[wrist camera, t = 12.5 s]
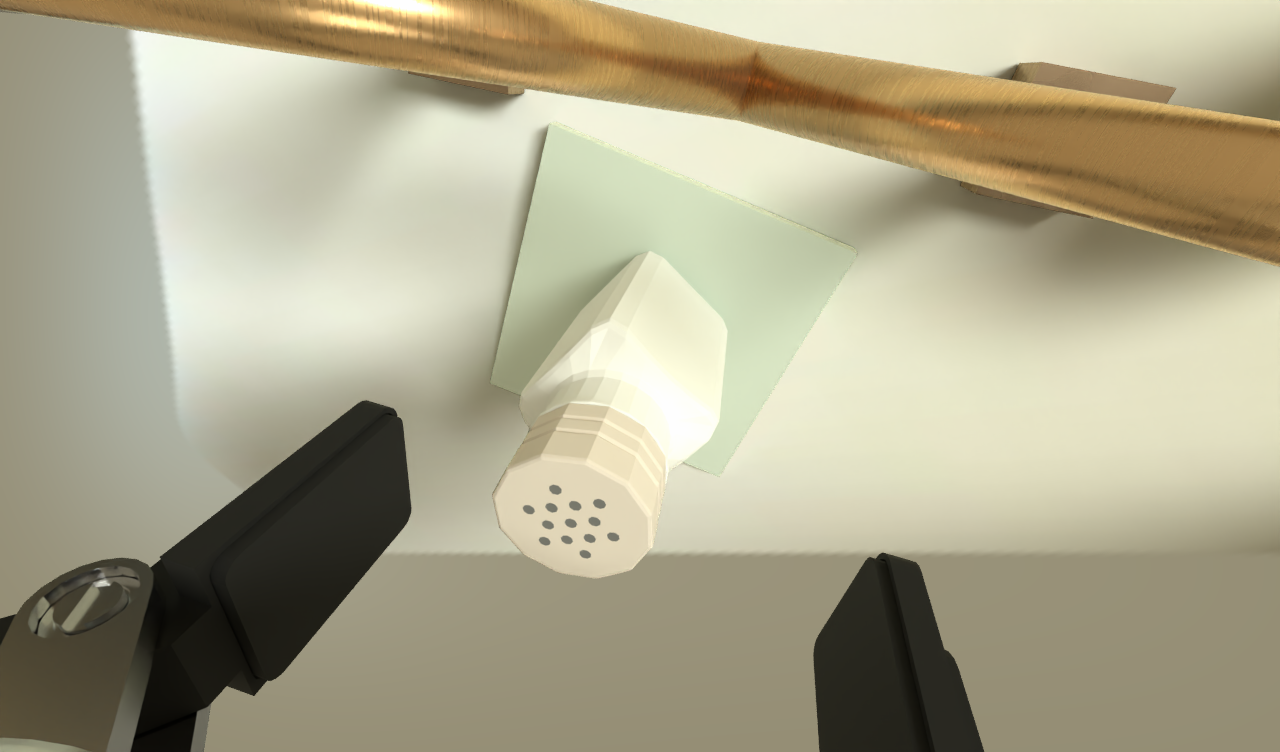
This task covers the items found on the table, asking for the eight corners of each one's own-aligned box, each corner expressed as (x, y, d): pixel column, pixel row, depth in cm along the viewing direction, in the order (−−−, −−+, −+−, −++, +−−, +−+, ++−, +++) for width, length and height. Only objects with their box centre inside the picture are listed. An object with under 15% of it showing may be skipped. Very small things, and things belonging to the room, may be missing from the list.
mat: (854, 248, 16) (857, 253, 15) (719, 467, 21) (719, 477, 21) (556, 121, 16) (549, 123, 15) (496, 375, 21) (489, 383, 20)
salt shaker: (653, 388, 19) (582, 616, 11) (574, 314, 18) (433, 505, 10) (735, 324, 17) (722, 543, 9) (652, 237, 16) (555, 397, 8)
